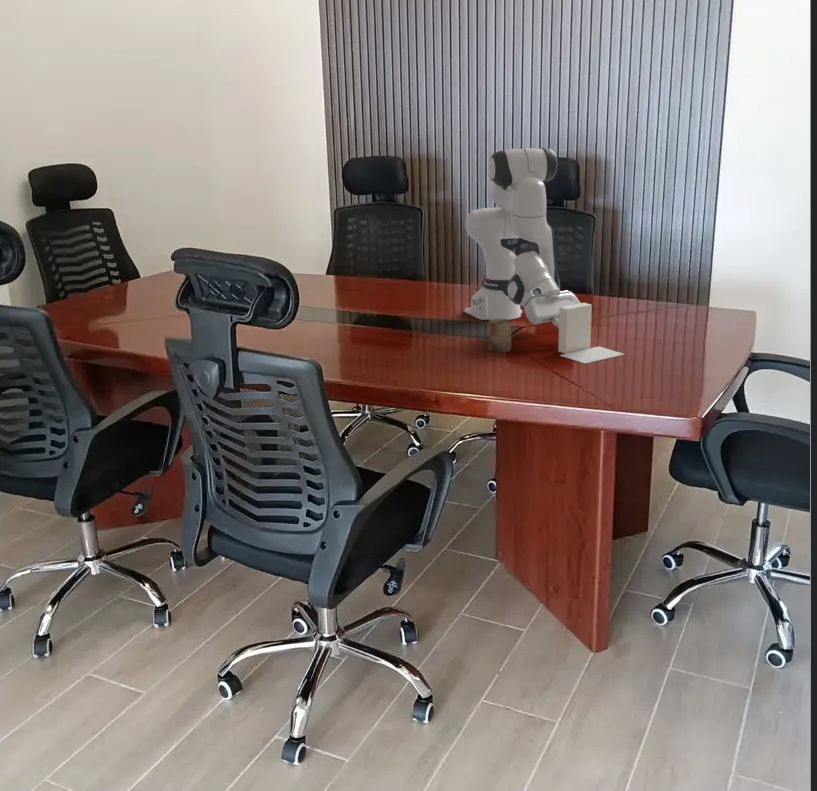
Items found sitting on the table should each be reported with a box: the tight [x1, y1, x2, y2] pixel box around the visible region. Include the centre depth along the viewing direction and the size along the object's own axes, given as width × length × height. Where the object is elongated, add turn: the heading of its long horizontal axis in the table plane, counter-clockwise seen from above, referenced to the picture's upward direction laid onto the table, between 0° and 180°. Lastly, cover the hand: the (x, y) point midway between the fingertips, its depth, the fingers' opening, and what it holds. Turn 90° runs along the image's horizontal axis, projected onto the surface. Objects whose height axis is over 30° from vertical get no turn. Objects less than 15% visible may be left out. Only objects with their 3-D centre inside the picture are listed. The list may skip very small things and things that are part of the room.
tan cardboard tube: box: [488, 319, 512, 354], centre depth 276 cm, size 7×7×9 cm
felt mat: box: [559, 346, 625, 365], centre depth 268 cm, size 11×16×1 cm
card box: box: [557, 302, 593, 354], centre depth 272 cm, size 4×10×14 cm, turn 122°
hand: (565, 329), depth 276 cm, fingers closed
